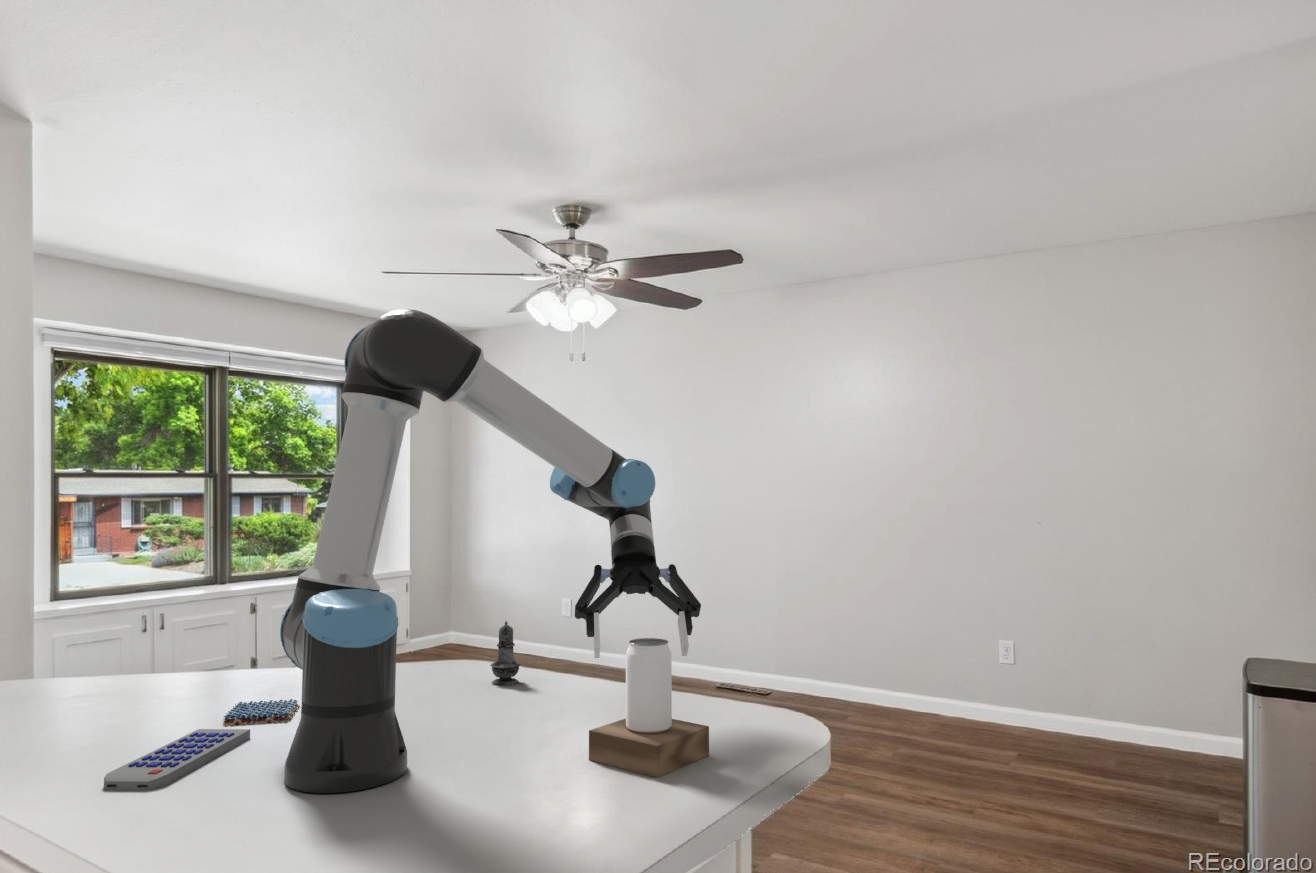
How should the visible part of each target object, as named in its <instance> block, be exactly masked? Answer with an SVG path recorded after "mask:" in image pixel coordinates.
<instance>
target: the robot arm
mask: <svg viewBox="0 0 1316 873" xmlns="http://www.w3.org/2000/svg"><path fill="white" fill-rule="evenodd" d="M344 370H345V371H344V372H345V374H346V375H345V378H344V383H343V388H342V391H341V395H340V396H341V399H343V401H344V402H345V404H346V406H347V408H348V413H347V417H346V422H345V424H344V430H343V433H342V434H343V435H342V439H341V442H340V447H339V451H338V455H337V459H336V464H335V467H334V473H333V475H332V481H331V484H330V489H329V494H328V497H327V502H326V506H325V511H324V514H323V520H322V524H321V528H320V532H319V537H318V539H317V540H318V541H317V545H316V548H315V552H314V553H315V554H314V557H313V560H312V561H313V562H312V565H311V566H310V568H308V569H306V570H305V571H303V572H301V573H300V574H299V575H298V578H297V582H296V586H295V589H294V594H293V598H292V602H290V604H289V606H288V607H287V609H286V610H285V612H284V614H283V616H282V619H281V623H280V631H279V635H280V642H281V646H282V648H283V651H284V654H285V655H286V656H287V658H288V659H289V660H290V661H291V663H292V664H294V665H295V666H296V667H297V668H299V669H300V670H302V673H301V674H302V675H301V676H302V679H301V681H302V682H301V705H300V708H301V710H300V720H299V722H298V726H297V729H296V732H295V734H294V736H293V740H292V743H291V746H290V748H289V752H288V754H287V757H286V760H285V763H284V772H283V774H284V776H283V777H284V778H283V782H284V784H285V786H287V787H288V788H290V789H291V790H295V791H297V792H303V793H310V794H311V793H312V794H334V793H335V794H337V793H349V792H355V791H361V790H366V789H371V788H374V787H378V786H381V785H385V784H387V783H390V782H392V781H395V780H397V779H399V778H400V777H402V776H403V775H404V774H405V773H406V772H407V770H408V750H407V746H406V744H405V741H404V736H403V733H402V730H401V727H400V724H399V720H398V717H397V714H396V679H397V678H396V673H397V671H396V670H397V640H398V639H397V637H398V627H399V616H398V613H397V612H398V611H397V608H398V607H397V603H396V601H395V599H394V598H393V597H392V596H390V595H389V594H387V593H384V592H382V591H380V590H381V586H380V585H379V583H378V582H377V579H375V577H374V574H373V573H374V569H375V564H376V560H377V556H378V550H379V547H380V543H381V538H382V533H383V528H384V525H385V520H386V515H387V511H388V506H389V502H390V498H391V497H390V496H391V493H392V488H393V484H394V478H395V475H396V470H397V466H398V462H399V456H400V451H401V447H402V444H403V443H402V442H403V438H404V434H405V429H406V425H407V422H408V421H409V420H410V419H411V418H413V417H415V416H416V415H418V414H419V413H420V408H421V405H422V404H421V403H422V399H423V394H424V392H426V393H428V394H430V395H431V396H433V397H435V398H437V399H438V400H440V401H441V402H443V403H444V404H447V403H451V402H455V403H457V404H458V405H460V406H462V408H465V409H466V410H468V411H469V412H471V413H472V414H474V415H475V416H477V417H478V418H480V419H481V420H483V421H484V422H486V423H487V424H489V425H490V426H492V427H493V428H495V429H496V430H498V431H499V432H501V433H503V435H505V436H507V437H509V438H510V439H512V440H513V441H515V442H516V443H517V444H519V445H521V446H523V448H525V449H527V450H529V451H530V452H532V453H533V454H534V455H536V456H537V457H539V458H540V459H542V460H543V461H545V462H546V463H548V464H549V465H551V466H553V467H554V468H553V470H552V472H551V475H550V478H549V488H550V491H551V492H552V493H553V494H555V495H557V496H559V497H560V498H562V499H563V500H564V501H568V502H570V503H572V504H574V505H577V506H578V507H580V508H583V509H585V510H587V511H589V512H591V513H592V514H593V513H594V515H598V517H601V518H603V519H605V520H608V524H609V533H610V549H611V550H610V554H611V568H603V567H602V565H600V564H595V565H594V566H593V568H594V569H593V574H592V577H591V578H590V581H589V582H588V584H587V586H586V587H585V589H584V590H583V592H582V593H581V595H580V597H579V598H578V600H577V602H576V603H575V606H574V618H575V619H577V620H581V619H583V620H585V624H586V628H585V630H586V636H587V638H593V651H594V652H593V655H594V656H593V657H594V659H599V658H600V655H601V654H600V653H601V639H600V638H601V636H600V635H601V634H600V615H601V613H602V612H603V611H604V610H605V609H606V608H607V607H608V606H609V605H610V604H611V603H612V602H613V601H614V600H615V599H616V598H619V597H620V596H621V595H622V594H623V593H626V595H633V594H639V595H646V593H648V594H649V595H651V597H653V598H657V599H658V600H659V601H661V603H663V604H664V605H665V606H666V607H667V608H668V609H669V610H670V611H672V612H673V613H674V614H675V615H677V617H678V618H677V626H678V634H679V644H680V652H681V656H682V657H687V656H688V651H689V647H690V646H689V645H690V644H689V639H688V638H689V637H688V636H691V635H692V633H693V627H694V626H693V621H692V618H698V617H700V613H701V608H702V604H701V602H700V601H699V600H698V598H697V597H696V596H695V594H694V593H693V592H692V591H691V590H690V588H689V586H688V585H687V584H686V583H685V582H684V580H683V579H682V577H680V575H679V574H678V570H677V566H676V565H675V564H673V563H671V564H668V567H666V568H660V567H659V566H658V565H657V558H656V550H655V549H656V548H655V539H654V532H653V531H654V530H653V524H652V515H651V514H652V513H651V498H652V496H653V495H654V492H655V489H656V477H655V474H654V471H653V470H652V467H650V465H648V464H647V463H646V462H645V461H642V460H638V459H635V458H628V459H627V458H625V457H624V456H623V455H621V454H619V453H618V452H616V451H615V450H613V449H612V448H611V447H609V446H607V445H606V444H605V443H603V441H600V440H599V439H597V437H595V436H593V435H592V434H591V433H589V432H588V431H586V430H585V429H584V428H583V427H581V426H579V425H578V424H576V423H575V422H574V421H572V420H571V419H569V418H568V417H567V416H566V415H564V414H562V413H561V412H560V411H558V410H557V409H555V408H554V407H552V406H551V405H549V404H548V403H547V402H546V401H544V400H542V399H541V398H539V397H538V396H537V395H536V394H534V393H533V392H531V391H530V390H529V389H527V388H526V387H524V385H522V384H520V383H518V382H517V381H516V380H514V379H513V378H511V377H510V376H509V375H508V374H506V373H504V372H503V371H502V370H500V369H499V368H498V367H496V366H495V365H493V364H492V363H491V362H489V361H488V360H487V359H485V357H484V350H483V349H482V348H481V347H480V346H478V345H477V344H475V342H473V341H471V340H470V339H468V338H467V337H465V336H464V335H463V334H461V333H460V332H458V331H457V330H455V329H454V328H452V327H451V326H450V325H448V324H446V323H445V322H444V321H441V320H440V319H438V318H437V317H435V316H433V315H430V314H429V313H426V312H424V311H420V310H417V309H410V308H405V309H402V308H401V309H396V310H392V311H389V312H386V313H385V314H383V315H382V316H380V317H379V318H378V319H376V320H375V321H373V322H372V323H369V324H367V325H366V326H364V327H363V328H361V329H359V331H358V332H357V333H355V335H354V336H353V337H352V338H351V340H350V341H349V343H348V346H347V347H346V350H345V355H344ZM608 578H610V580H611V583H610V585H609V586H608V587H607V588H606V589H604V591H603V592H601V594H599V596H598V597H597V598H596V599H594V597H595V596H596V593H597V592H598V591H599V589H600V586H601V584H604V582H605V581H606V580H607V579H608ZM660 578H663V579H664V581H665V583H668V584H669V586H670V588H671V589H672V590H670V589H669V588H668V587H667V586H666V585H664V584H663V582H662V580H661V579H660ZM593 599H594V600H593ZM592 600H593V601H592ZM591 602H592V603H591Z"/></svg>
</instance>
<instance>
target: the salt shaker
mask: <svg viewBox="0 0 1316 873" xmlns="http://www.w3.org/2000/svg"><path fill="white" fill-rule="evenodd" d="M508 624H509V623H508V621H507V620H506V621H505V622H504V625H503V626H501V627H500V628H499V629H498V643H497V644H496V646H497V657H496V658H497V659H496V660H495V661H494V662H492V663H490V667H491V671H492V673H493V675H494V677H497V678H496V679H494V680H492V681H491V684H492V685H493V686H501V687H502V686H504V687H505V686H514V685H517V684H519V683H520V681H519V680H518V679H516V678H514V677H515V676H516V675H517V674H518V672H519V671H520V666H521V664H522V663H520V662H518V661H517V660H516V659H515V656H514V647H515V645H516V643H514V628H513V627H512V626H510V625H508Z"/></svg>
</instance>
